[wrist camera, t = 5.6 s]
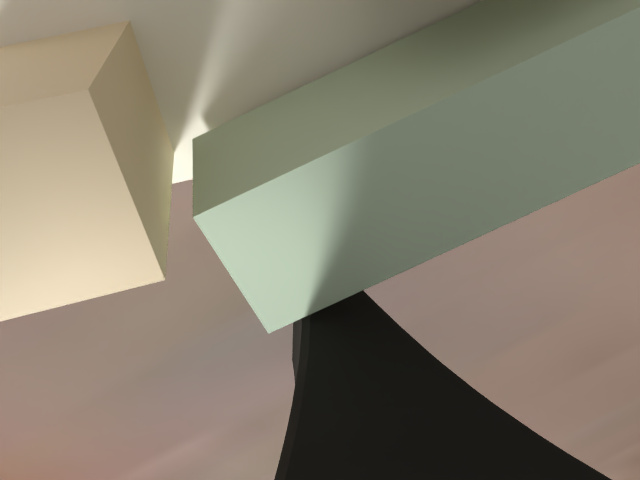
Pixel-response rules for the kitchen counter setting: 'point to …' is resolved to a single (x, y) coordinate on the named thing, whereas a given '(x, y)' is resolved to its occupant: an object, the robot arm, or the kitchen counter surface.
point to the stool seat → (143, 118)
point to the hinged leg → (419, 149)
